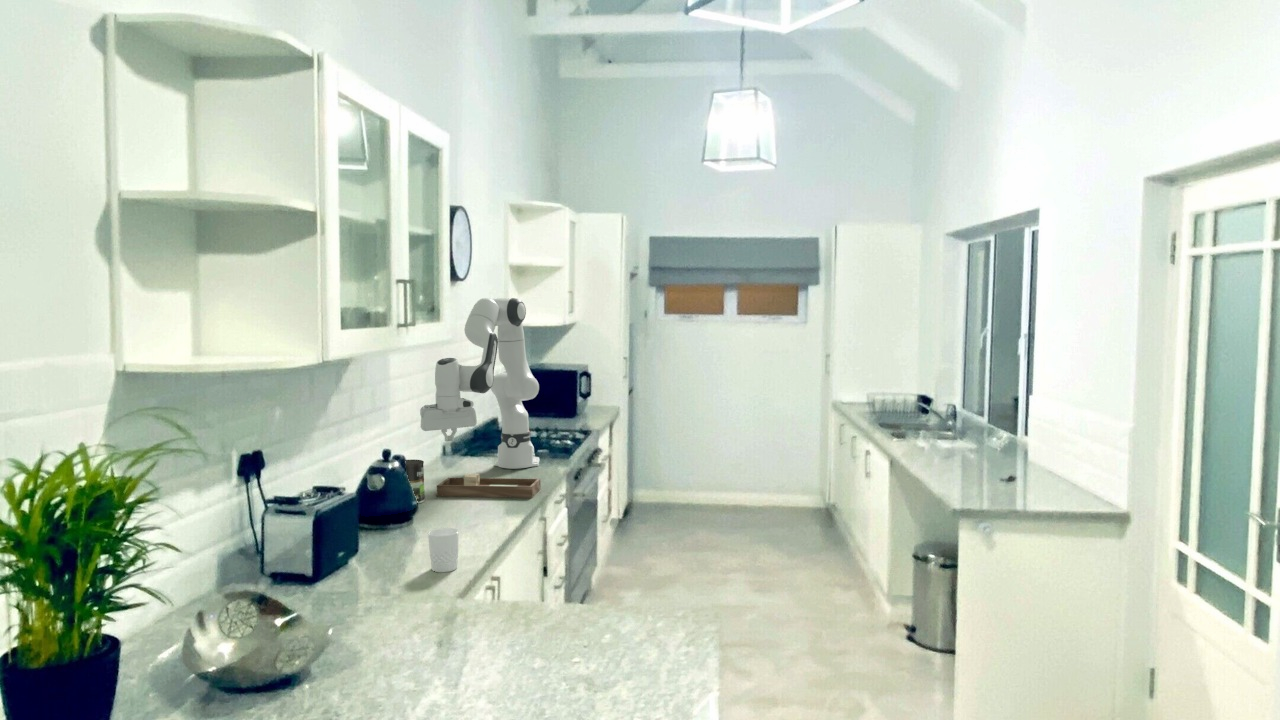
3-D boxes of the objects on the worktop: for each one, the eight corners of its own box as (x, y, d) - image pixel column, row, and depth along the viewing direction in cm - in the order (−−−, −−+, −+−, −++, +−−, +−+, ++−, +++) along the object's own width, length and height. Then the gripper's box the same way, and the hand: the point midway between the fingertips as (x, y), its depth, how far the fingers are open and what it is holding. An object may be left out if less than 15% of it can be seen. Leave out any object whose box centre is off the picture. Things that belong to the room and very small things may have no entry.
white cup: (449, 574, 229) (448, 537, 228) (423, 571, 232) (422, 534, 231) (465, 565, 237) (464, 529, 236) (440, 562, 239) (438, 526, 239)
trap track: (448, 488, 329) (448, 477, 328) (540, 489, 325) (540, 478, 324) (436, 496, 316) (436, 485, 316) (532, 497, 312) (532, 486, 312)
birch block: (467, 485, 323) (467, 473, 323) (479, 485, 323) (479, 473, 323) (464, 488, 319) (463, 476, 319) (476, 488, 318) (475, 476, 318)
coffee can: (428, 498, 314) (427, 459, 313) (420, 505, 304) (419, 464, 302) (399, 498, 314) (398, 459, 313) (390, 505, 304) (389, 465, 303)
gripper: (422, 406, 311) (424, 445, 312) (477, 401, 322) (478, 439, 323) (417, 404, 317) (418, 442, 318) (471, 400, 327) (472, 436, 328)
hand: (449, 440), depth 320 cm, fingers closed
